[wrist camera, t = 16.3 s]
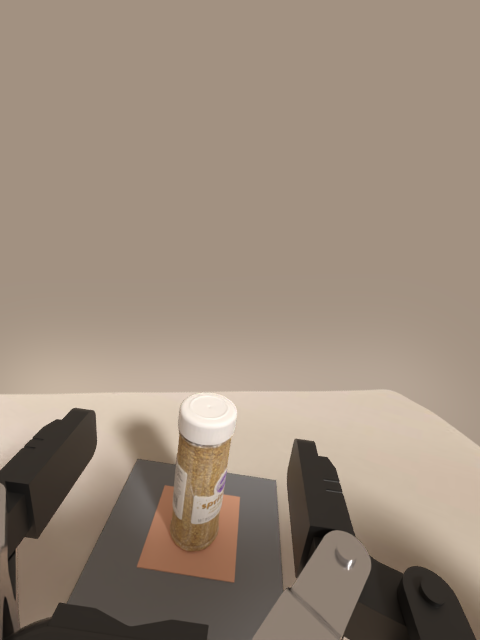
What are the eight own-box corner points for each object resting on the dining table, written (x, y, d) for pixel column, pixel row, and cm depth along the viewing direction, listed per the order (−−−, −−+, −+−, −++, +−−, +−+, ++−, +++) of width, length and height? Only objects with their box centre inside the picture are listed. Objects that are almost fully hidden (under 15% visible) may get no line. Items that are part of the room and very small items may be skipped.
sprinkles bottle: (212, 559, 27) (233, 430, 22) (161, 547, 27) (171, 418, 23) (222, 511, 31) (241, 395, 27) (178, 501, 31) (189, 385, 27)
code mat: (275, 481, 36) (276, 479, 36) (340, 1512, 7) (342, 1513, 7) (137, 459, 36) (137, 458, 36) (-319, 1390, 8) (-322, 1391, 7)
